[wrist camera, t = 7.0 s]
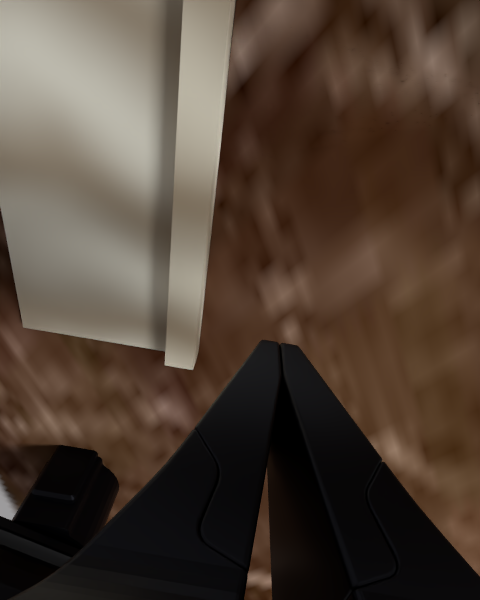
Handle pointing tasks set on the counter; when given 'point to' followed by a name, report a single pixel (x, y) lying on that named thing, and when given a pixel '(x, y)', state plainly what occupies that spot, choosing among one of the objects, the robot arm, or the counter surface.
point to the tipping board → (113, 164)
